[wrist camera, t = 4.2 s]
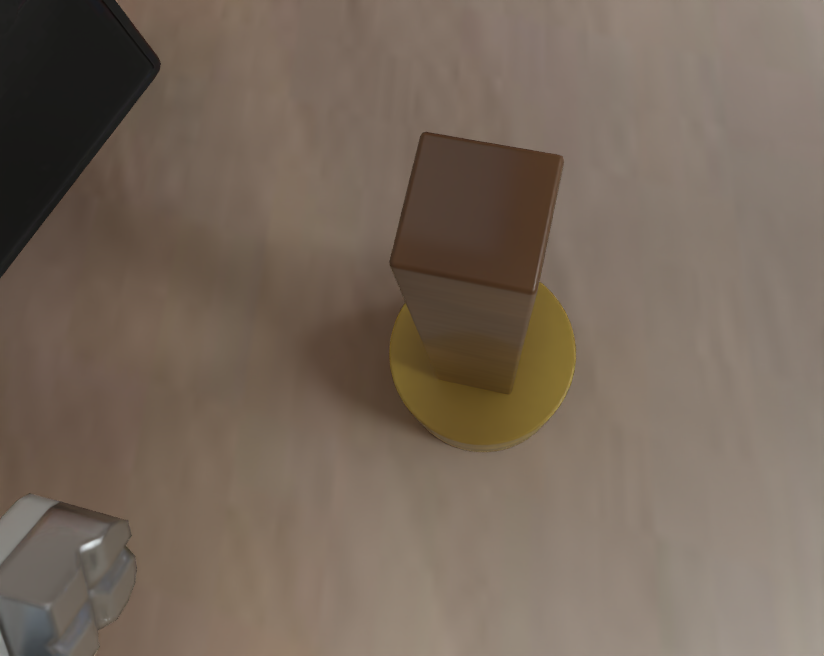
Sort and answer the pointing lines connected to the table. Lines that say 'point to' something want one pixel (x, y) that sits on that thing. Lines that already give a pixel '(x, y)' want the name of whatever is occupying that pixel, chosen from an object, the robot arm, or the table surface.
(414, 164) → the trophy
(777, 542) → the table surface
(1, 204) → the radio
